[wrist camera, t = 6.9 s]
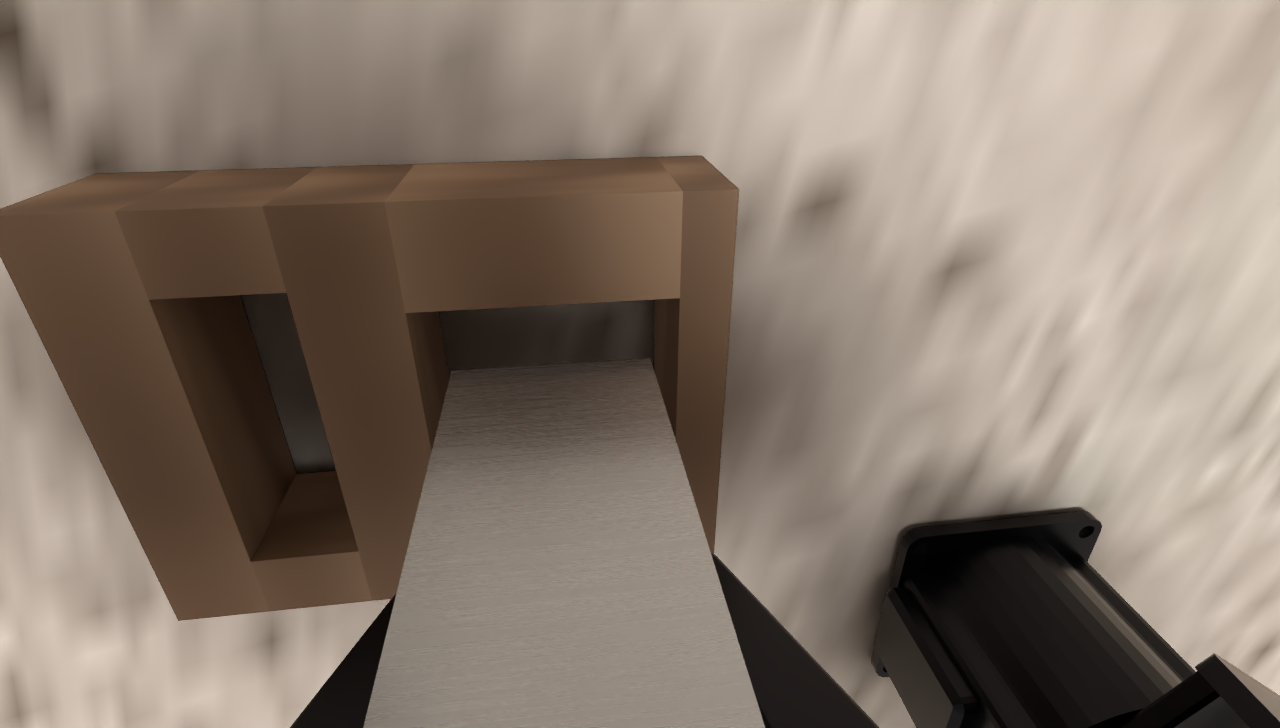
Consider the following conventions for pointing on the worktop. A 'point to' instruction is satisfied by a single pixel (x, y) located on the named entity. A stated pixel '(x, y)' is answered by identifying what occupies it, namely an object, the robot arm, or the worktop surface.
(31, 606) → the worktop surface
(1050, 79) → the worktop surface
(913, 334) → the worktop surface
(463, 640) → the square bit
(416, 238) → the brown wooden slotted frame
